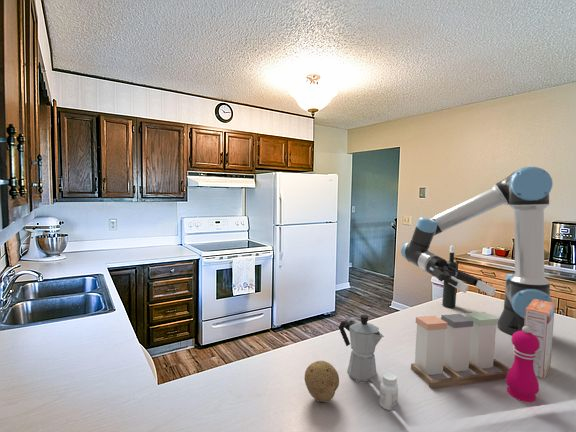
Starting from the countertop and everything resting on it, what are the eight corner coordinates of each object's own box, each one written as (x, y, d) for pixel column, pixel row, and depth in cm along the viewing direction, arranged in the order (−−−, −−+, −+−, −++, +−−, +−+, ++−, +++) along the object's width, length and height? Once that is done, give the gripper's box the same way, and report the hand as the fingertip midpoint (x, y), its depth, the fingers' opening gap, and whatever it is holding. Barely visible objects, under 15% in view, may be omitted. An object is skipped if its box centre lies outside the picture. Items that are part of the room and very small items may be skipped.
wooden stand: (401, 369, 101) (401, 359, 101) (484, 359, 108) (485, 350, 108) (428, 394, 88) (429, 384, 88) (521, 382, 96) (522, 372, 95)
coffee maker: (388, 377, 96) (391, 317, 95) (374, 390, 90) (377, 326, 89) (345, 359, 106) (347, 304, 105) (329, 369, 100) (331, 311, 99)
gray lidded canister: (438, 363, 103) (441, 315, 101) (456, 361, 104) (459, 313, 103) (451, 373, 97) (454, 322, 96) (470, 370, 99) (473, 320, 98)
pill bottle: (397, 402, 85) (398, 373, 84) (397, 412, 81) (398, 382, 80) (379, 398, 86) (381, 370, 86) (378, 408, 82) (380, 378, 82)
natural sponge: (317, 384, 92) (318, 350, 91) (345, 397, 86) (346, 361, 85) (297, 399, 85) (298, 362, 84) (326, 415, 79) (327, 375, 78)
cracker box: (528, 359, 109) (533, 297, 108) (551, 366, 105) (556, 302, 104) (519, 374, 100) (524, 307, 98) (543, 383, 95) (549, 313, 94)
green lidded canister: (462, 360, 105) (465, 313, 103) (480, 358, 106) (483, 312, 105) (476, 369, 99) (480, 320, 98) (494, 367, 101) (498, 318, 100)
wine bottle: (453, 304, 162) (457, 244, 160) (456, 308, 156) (460, 246, 154) (441, 303, 163) (444, 244, 161) (443, 307, 158) (447, 245, 156)
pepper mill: (526, 392, 91) (532, 321, 89) (544, 409, 84) (550, 333, 82) (499, 389, 91) (504, 320, 90) (514, 406, 84) (520, 331, 83)
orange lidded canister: (413, 366, 100) (415, 317, 99) (431, 364, 102) (434, 315, 101) (424, 376, 95) (427, 324, 94) (444, 373, 97) (447, 322, 95)
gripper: (452, 276, 133) (500, 303, 114) (405, 269, 123) (449, 298, 104) (458, 259, 132) (508, 283, 112) (412, 251, 122) (458, 276, 103)
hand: (480, 290), depth 108 cm, fingers open, 13 cm apart
